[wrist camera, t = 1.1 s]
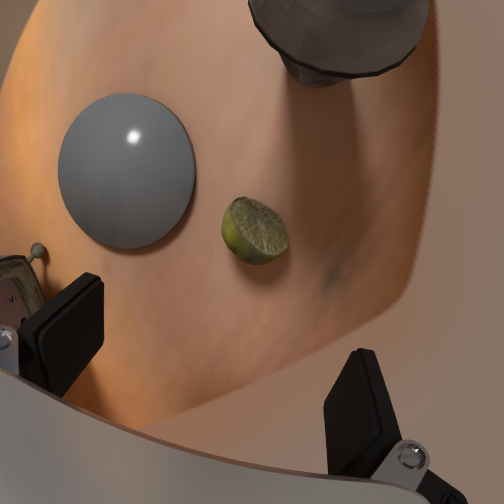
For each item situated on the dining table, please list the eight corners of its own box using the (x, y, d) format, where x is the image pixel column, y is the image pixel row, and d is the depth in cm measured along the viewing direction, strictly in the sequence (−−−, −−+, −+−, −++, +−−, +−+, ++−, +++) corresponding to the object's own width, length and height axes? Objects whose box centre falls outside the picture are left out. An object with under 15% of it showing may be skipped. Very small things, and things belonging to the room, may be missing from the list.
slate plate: (75, 90, 22) (69, 89, 21) (212, 106, 22) (209, 105, 21) (60, 225, 27) (54, 228, 26) (180, 261, 27) (177, 266, 26)
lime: (229, 191, 24) (215, 205, 20) (292, 198, 24) (293, 213, 19) (226, 246, 26) (212, 271, 21) (286, 253, 26) (285, 280, 21)
